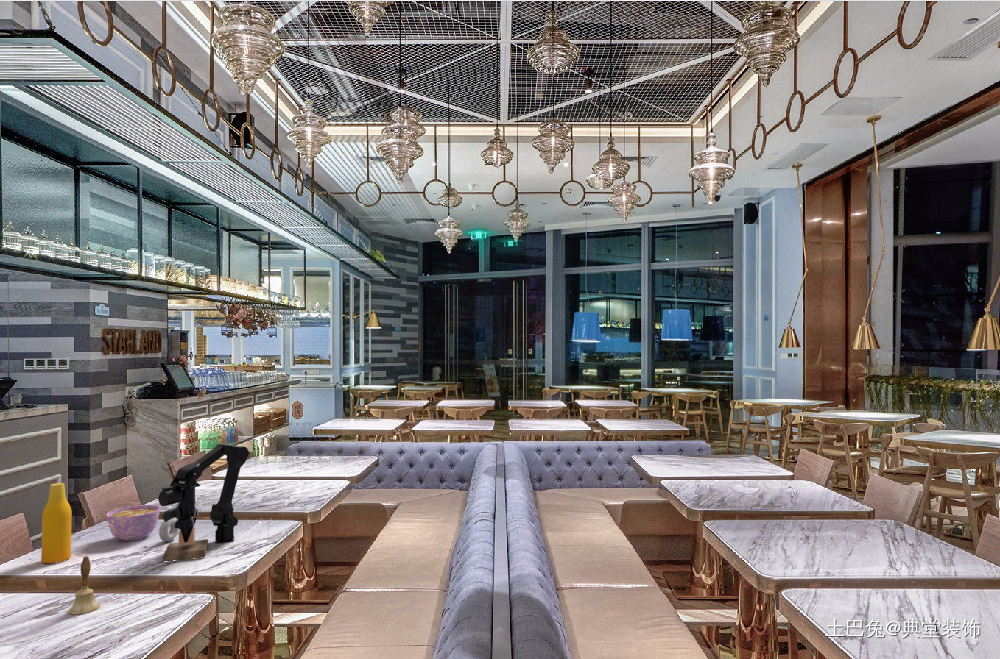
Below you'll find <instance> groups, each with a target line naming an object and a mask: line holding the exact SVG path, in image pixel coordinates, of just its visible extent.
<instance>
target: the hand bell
mask: <svg viewBox="0 0 1000 659" xmlns="http://www.w3.org/2000/svg"><path fill="white" fill-rule="evenodd" d="M89 558H90V556H88V555H85V556H83V559H82V561H81V562H80V563H81V564H80V574H81V588H80V589H79V591H77V592H76V593H75V599H74V602H73V604H72V606H71V607H69V609H68V611H67V613H68V614H69V615H75V616H76V615H84V614H88V613H92V612H94V611H96V610H98V609H99V608H101V602H98V601H97V599H96V598H95V592H94V589H92V588H89V575H90V572H91V565H92V564H91V561H90V559H89Z"/></svg>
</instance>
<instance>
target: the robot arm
mask: <svg viewBox="0 0 1000 659" xmlns="http://www.w3.org/2000/svg"><path fill="white" fill-rule="evenodd" d="M249 453H250V451H249V449H248V447H246V446H241V445H229V444H226V443H218V444H217V445H215V447H214V448H213V449H211V450H210V451H208V452H207V453H205V454H204V455H203V456H201V457H200V458H199V459H197V460H196V461H194V462H191V463H189V464H185V465H184V466H182V467H180V468H179V469H178V470H176V473H175V476H174V477H173V480H172V481H171V483H170V484H169V486H168V487H166V486H165V487H162V488H161V491H160V492H159V494H158V498H157V499H158V500H157V501H158V504H159V505H160V507H161V506H162V507H166V506H169V505H174V504H177V503H178V504H177V505H176V506H175V507H173V508H171V509H167V510H165V511H164V512H162V514H161V516H162V518H161V519H162V520H163V521H164V522H167V521H169V520H171V519H173V518H176V519H177V521H176V522H175V528H176V529H177V528H178V529H179V531H180V530H181V532H182V536H183V539H184V542H188V539H189V537H190V534H191V531H192V529H193V528H194V527H195V524H196V522H197V519H198V516H199V509H198V508H196V504H197V501H196V488H198V487H200V486H201V484H200V483H198V482H197V481H198V479H199V478H201V476H202V474H203V473H204V471H205V470H207V469H208V468H209V467H210V466H212V465H213V464H214V463H215V462H217V461H218V460H219V459H221V458H222V457H224V456H226V458H225V459H226V463H227V469H226V472H225V477H224V481H223V485H222V488H221V492H220V496H219V500H218V502H217V503H216V504H212V505H211V509H210V512H209V515H210V520H211V522H212V524H213V526H214V527H216V529H215V532H214V533H215V535H214V536H215V542H216V544H220V543H222V542H223V543H229V542H230V541H232V542H234V540H235V530H234V529H235V526H238V523H239V519H238V518H237V517H236V516H234V506H233V499H234V495H235V491H236V487H237V483H238V480H239V475H240V472H241V468H242V467H243V465H244V464H245V463H246V461H247V460H248V457H249ZM223 543H222V544H223Z"/></svg>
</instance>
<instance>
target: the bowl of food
mask: <svg viewBox="0 0 1000 659" xmlns="http://www.w3.org/2000/svg"><path fill="white" fill-rule="evenodd" d="M160 512H161V505H160V506H159V505H156V504H154V505H153V504H141V505H132V506H124V507H121V508H117V509H113V510H110V511H108V512H107V513H106V520H107V523H108V527H109V531H110V533H111V535H112V537H114V538H116V539H119V540H122V541H123V540H124V541H123V542H128V541H127V540H134V541H137V540H136V539H139V540H141V539H140V538H142V539H143V537H144V536H145V537H146V536H149V535H150V534H151V533H153V531H154V530H155V528H156V526H157V524H158V520H159V516H160ZM145 537H144V538H145ZM125 540H126V541H125Z"/></svg>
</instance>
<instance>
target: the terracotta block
mask: <svg viewBox="0 0 1000 659" xmlns="http://www.w3.org/2000/svg"><path fill="white" fill-rule="evenodd" d="M195 530H196V529H195V526H194V527H193V529H192V531H191V534H190V537H189V539H188V542H184V539H183V536H182V532H181V530H180V529H179V531H178V542H179V545H188V544H193V543H194V541H196V540H195V538H196V537H195V535H196V533H195V532H196V531H195Z"/></svg>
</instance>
